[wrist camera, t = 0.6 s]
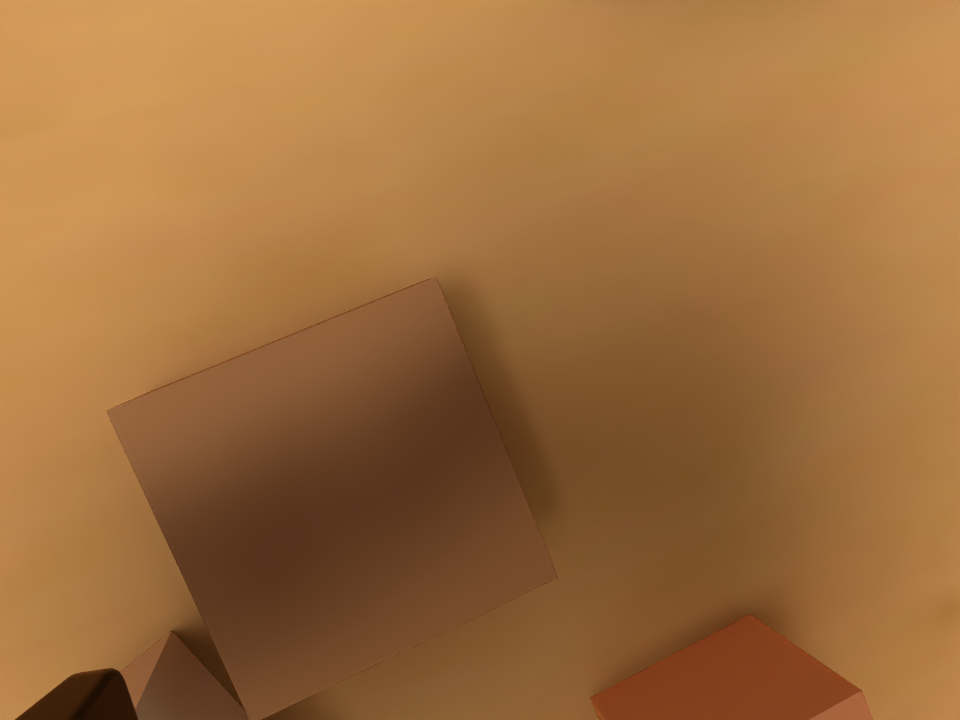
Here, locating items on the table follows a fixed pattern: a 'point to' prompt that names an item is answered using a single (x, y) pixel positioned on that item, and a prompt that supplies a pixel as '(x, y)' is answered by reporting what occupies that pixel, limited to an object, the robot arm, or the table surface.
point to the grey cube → (177, 686)
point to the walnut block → (335, 496)
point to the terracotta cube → (735, 683)
